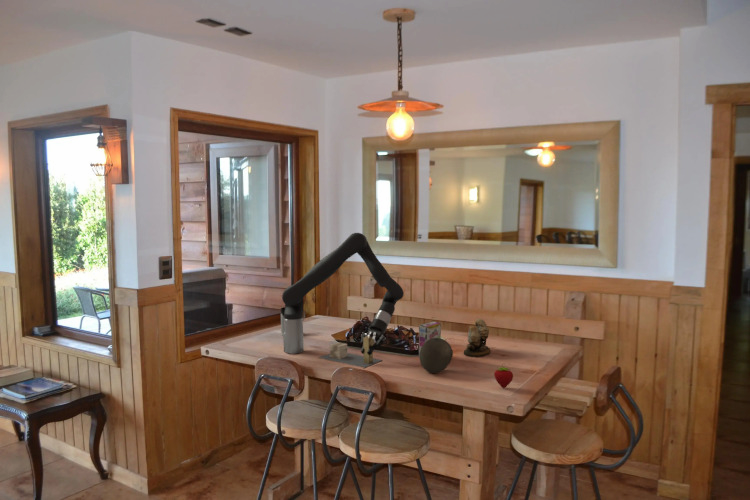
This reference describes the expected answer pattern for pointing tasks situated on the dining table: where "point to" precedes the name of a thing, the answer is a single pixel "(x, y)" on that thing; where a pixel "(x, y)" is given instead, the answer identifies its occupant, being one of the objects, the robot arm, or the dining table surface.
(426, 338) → the candy bar box
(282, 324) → the glass holder
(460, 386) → the dining table surface
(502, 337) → the dining table surface
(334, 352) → the cube
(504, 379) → the strawberry
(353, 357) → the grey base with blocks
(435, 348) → the coconut
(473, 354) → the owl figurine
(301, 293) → the robot arm
